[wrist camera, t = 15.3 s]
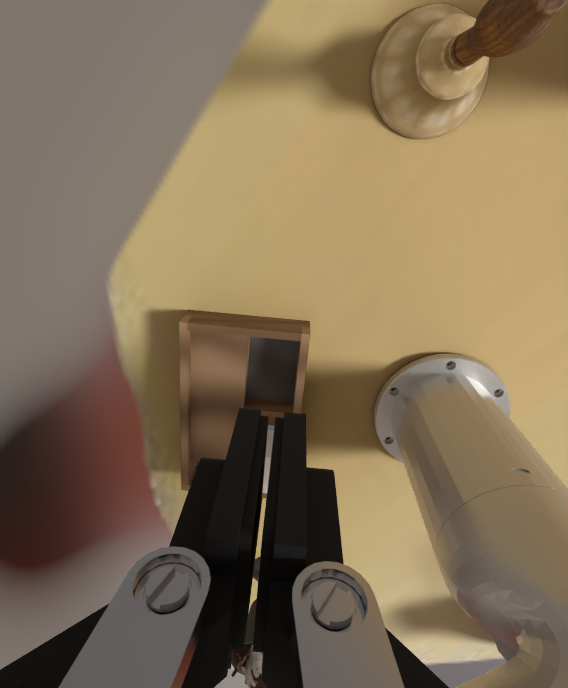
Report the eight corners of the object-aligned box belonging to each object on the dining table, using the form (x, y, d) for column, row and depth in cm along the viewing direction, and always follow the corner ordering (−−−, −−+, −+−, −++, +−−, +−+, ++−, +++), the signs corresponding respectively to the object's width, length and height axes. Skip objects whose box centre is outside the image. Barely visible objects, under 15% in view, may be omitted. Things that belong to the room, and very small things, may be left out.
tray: (188, 310, 38) (178, 322, 35) (309, 321, 38) (310, 334, 35) (189, 468, 45) (181, 490, 42) (291, 478, 45) (290, 500, 42)
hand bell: (486, -11, 28) (686, -203, 13) (489, 125, 31) (654, 88, 17) (363, 22, 29) (424, -124, 14) (377, 150, 32) (440, 137, 18)
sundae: (308, 581, 51) (310, 735, 37) (257, 594, 52) (241, 747, 38) (287, 544, 49) (281, 693, 35) (235, 558, 50) (209, 707, 36)
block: (239, 425, 40) (233, 452, 36) (280, 432, 40) (278, 458, 36) (235, 459, 42) (228, 487, 38) (274, 465, 42) (272, 494, 38)
